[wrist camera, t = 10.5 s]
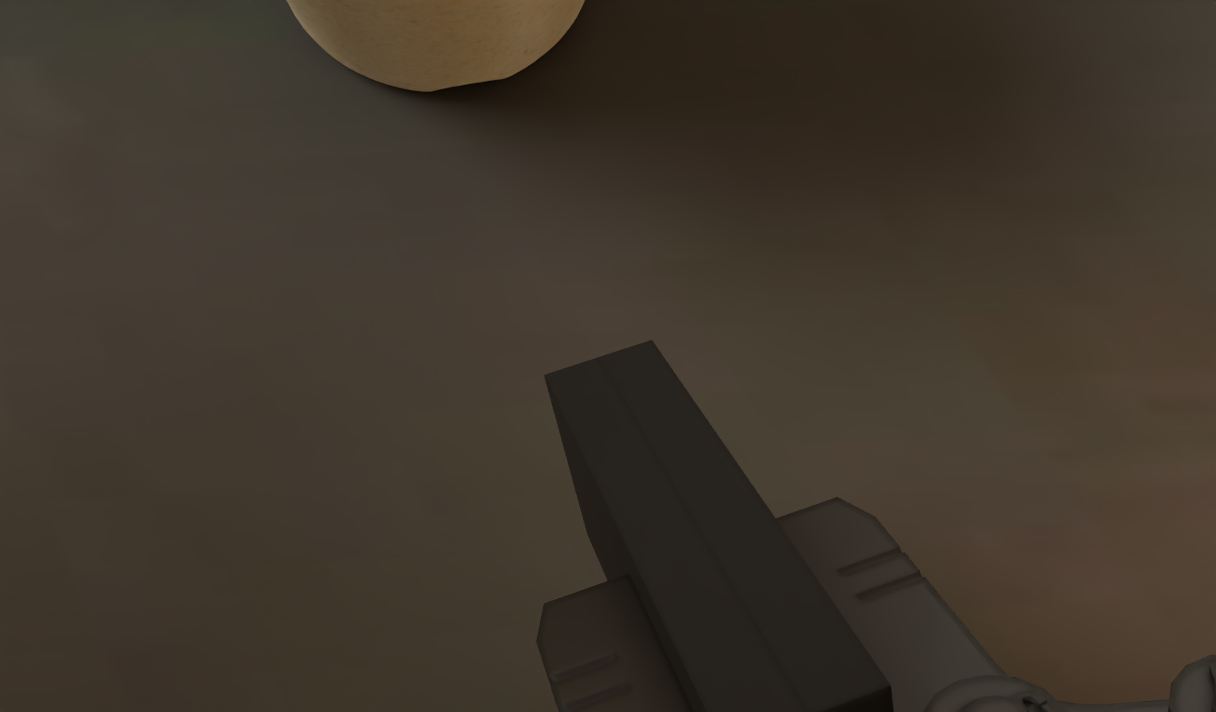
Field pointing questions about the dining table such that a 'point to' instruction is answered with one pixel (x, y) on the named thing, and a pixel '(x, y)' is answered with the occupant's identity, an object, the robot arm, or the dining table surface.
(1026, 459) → the dining table surface
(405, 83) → the flower pot
